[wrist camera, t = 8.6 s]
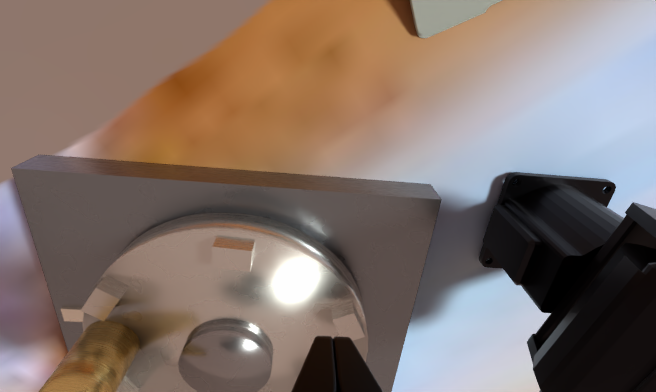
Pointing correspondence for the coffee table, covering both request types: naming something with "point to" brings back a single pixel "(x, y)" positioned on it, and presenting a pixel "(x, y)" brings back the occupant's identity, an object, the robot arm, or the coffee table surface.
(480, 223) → the coffee table surface
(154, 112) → the coffee table surface
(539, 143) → the coffee table surface
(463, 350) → the coffee table surface
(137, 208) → the base plate
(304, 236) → the silver round platform
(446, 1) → the metal bracket
